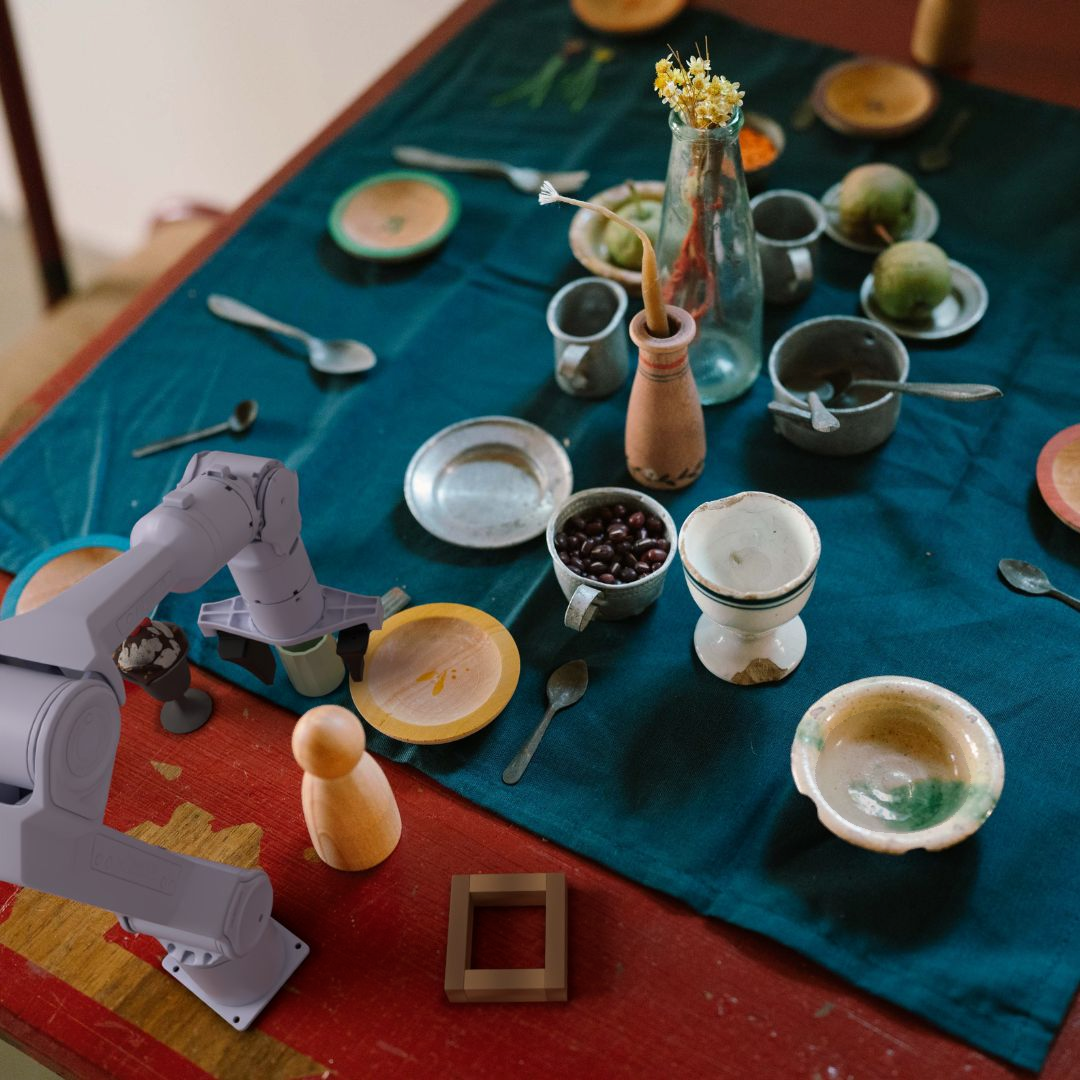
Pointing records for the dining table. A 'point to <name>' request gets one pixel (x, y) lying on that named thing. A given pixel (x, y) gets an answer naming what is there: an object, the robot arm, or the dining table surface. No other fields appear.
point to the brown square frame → (506, 981)
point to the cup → (313, 665)
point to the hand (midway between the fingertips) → (315, 674)
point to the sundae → (164, 673)
